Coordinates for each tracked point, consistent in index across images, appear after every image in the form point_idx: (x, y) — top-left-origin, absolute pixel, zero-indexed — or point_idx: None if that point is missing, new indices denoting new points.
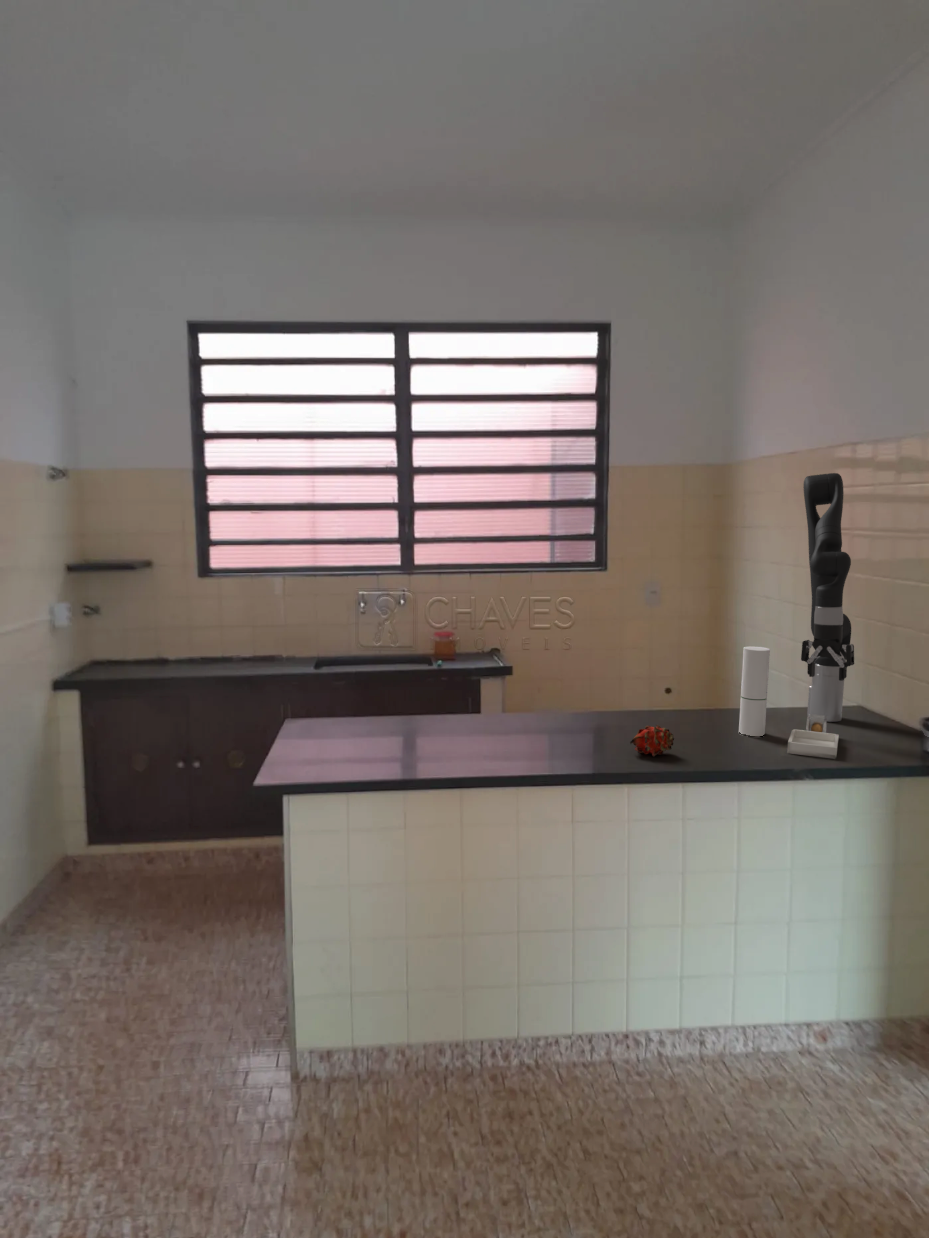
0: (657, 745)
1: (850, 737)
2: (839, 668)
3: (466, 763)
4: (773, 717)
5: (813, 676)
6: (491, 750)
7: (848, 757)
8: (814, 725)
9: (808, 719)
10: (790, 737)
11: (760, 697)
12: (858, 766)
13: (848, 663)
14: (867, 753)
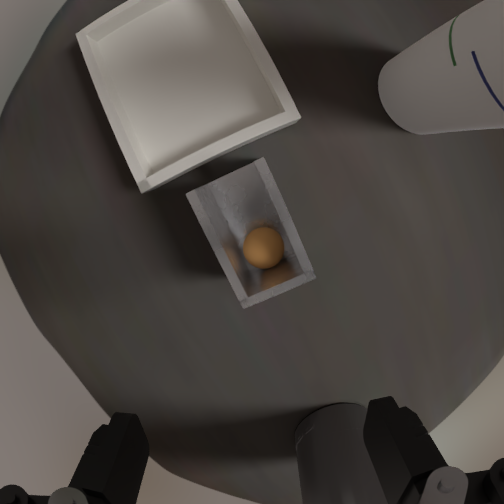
0: None
1: (181, 313)
2: (102, 487)
3: None
4: (444, 338)
5: (365, 421)
6: None
7: (76, 90)
8: (269, 242)
9: (260, 167)
10: (237, 6)
11: (459, 20)
12: (38, 49)
13: (7, 501)
14: (62, 178)
